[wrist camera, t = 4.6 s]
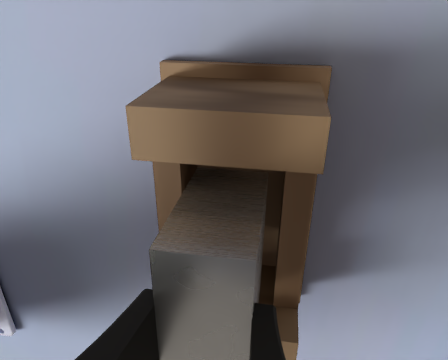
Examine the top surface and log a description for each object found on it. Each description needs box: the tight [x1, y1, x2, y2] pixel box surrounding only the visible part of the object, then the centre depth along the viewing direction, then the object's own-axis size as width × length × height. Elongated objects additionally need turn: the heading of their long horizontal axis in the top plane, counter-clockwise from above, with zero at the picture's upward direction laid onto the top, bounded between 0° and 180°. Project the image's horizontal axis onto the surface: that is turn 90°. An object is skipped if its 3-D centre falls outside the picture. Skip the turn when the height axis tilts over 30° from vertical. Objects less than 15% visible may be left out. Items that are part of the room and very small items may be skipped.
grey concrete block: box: [149, 167, 268, 360], centre depth 14 cm, size 3×6×6 cm, turn 0°
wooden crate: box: [126, 60, 332, 360], centre depth 17 cm, size 8×14×6 cm, turn 0°
